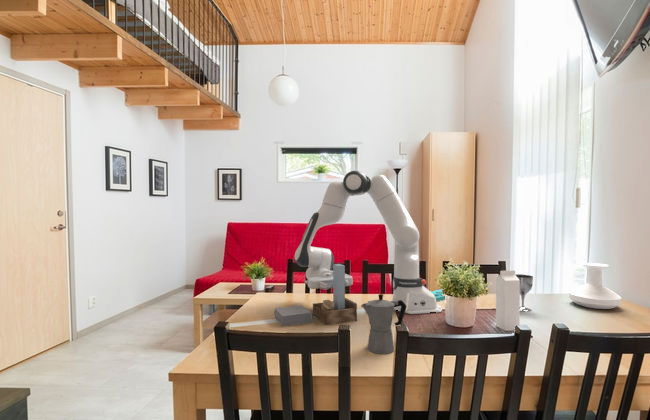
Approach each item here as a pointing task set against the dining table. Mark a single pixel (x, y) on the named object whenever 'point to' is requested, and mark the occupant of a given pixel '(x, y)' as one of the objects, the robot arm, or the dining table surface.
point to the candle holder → (595, 290)
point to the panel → (339, 286)
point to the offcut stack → (327, 305)
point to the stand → (293, 315)
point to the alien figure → (438, 295)
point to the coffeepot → (382, 324)
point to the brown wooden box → (336, 313)
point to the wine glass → (524, 288)
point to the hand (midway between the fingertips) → (337, 285)
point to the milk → (507, 300)
